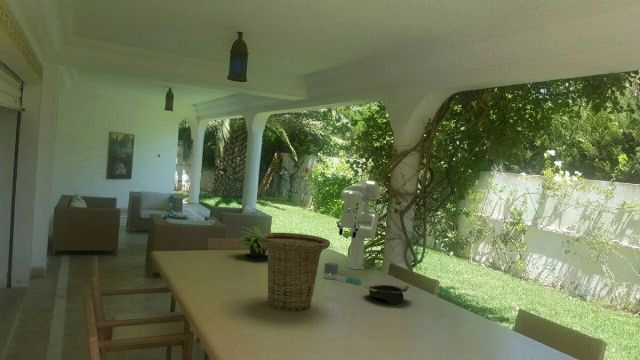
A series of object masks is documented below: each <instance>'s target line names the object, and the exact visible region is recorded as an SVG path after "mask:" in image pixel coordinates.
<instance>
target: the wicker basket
mask: <svg viewBox="0 0 640 360" xmlns="http://www.w3.org/2000/svg"><path fill="white" fill-rule="evenodd" d="M260 241H261V242H262V243H264V244H265V245H266V246H267V250H266V251H267V255H268V261H267V303H268V305H269V306H271V307H272V308H277V309H278V310H282V309H283V310H284V311H289V310H291V311H293V312H294V311H297V310H298V311H302V310H308V308H310V307H311V304H312V299H313V294H314V288H315V284H316V279H317V273H318V269H319V263H320V262H319V261H320V258H321V254H322V252H323V251H324V250H325V249H328V248H329V247H330V246H331V241H330V240H329V239H327V238H325V237H321V236H317V235H313V234H305V233H294V232H267V233H261V236H260Z"/></svg>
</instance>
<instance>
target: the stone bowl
mask: <svg viewBox="0 0 640 360" xmlns="http://www.w3.org/2000/svg"><path fill="white" fill-rule="evenodd" d="M409 288H410V286H408V285H406V286H402V285H397V284H395V285H394V284H384V283H383V284H381V283H377V284H367V285H365V286H363V289H366V290H368V292H369V295H370V296H371V297H374V298H376V299H381V300H385V301H386V304H388V305H391V306H392V305H397V304H399V303H402V302H403V301H404V294H403V293H406V292H407V291H408V289H409Z"/></svg>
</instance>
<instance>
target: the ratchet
mask: <svg viewBox="0 0 640 360" xmlns="http://www.w3.org/2000/svg"><path fill="white" fill-rule="evenodd" d="M323 273H324V272H323ZM323 278H324V279H326V280H332V279H333V280H336V281H340V282H343V281H344V283H347V284H352V285H356V286H360V285H362V279H359V278H355V277H346V276H342V275H338V273H337V274H334V275H331V274H326V273H324V274H323Z"/></svg>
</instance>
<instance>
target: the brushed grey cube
mask: <svg viewBox="0 0 640 360" xmlns="http://www.w3.org/2000/svg"><path fill="white" fill-rule="evenodd" d="M338 269H339V264H338V263H334V262H332V261H329V262H325V263H324V269H323V273H326V274H331V275H334V274H337V275H338V272H339V271H338Z"/></svg>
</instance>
